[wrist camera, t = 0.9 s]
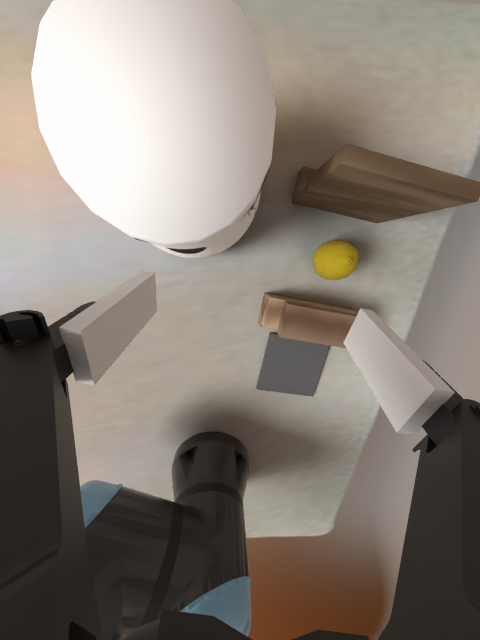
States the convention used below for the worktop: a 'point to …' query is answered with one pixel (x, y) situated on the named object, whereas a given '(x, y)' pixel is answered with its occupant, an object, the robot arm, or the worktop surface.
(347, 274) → the lemon
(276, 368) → the rubber mat
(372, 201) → the wooden blocks
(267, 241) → the worktop surface
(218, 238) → the milk container
